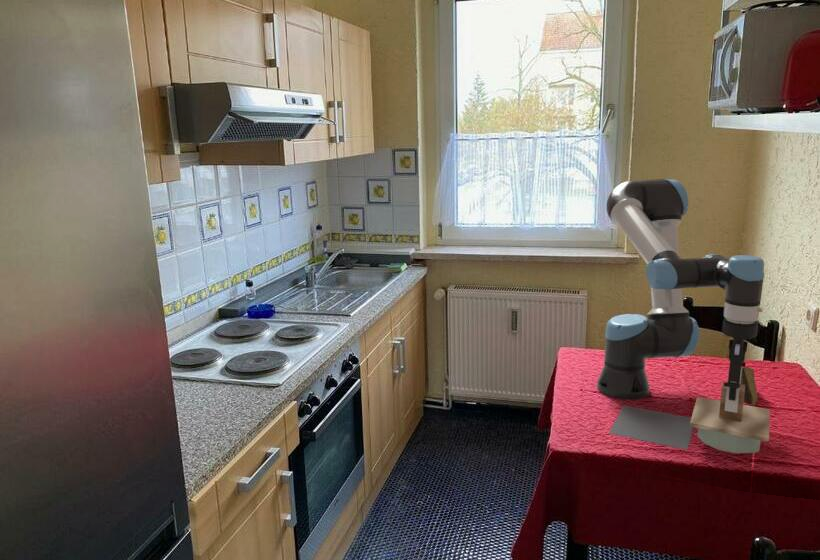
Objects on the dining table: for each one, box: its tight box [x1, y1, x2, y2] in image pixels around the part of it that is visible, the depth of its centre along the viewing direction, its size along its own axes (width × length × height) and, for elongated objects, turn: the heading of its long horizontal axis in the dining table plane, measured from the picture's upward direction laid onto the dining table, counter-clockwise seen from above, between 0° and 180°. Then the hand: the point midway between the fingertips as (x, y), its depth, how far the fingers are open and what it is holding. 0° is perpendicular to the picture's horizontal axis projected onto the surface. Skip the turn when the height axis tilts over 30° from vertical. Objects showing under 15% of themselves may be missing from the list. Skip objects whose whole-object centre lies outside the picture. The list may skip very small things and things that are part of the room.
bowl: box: [697, 428, 762, 455], centre depth 156 cm, size 14×14×6 cm
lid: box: [690, 380, 771, 443], centre depth 154 cm, size 17×17×9 cm
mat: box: [608, 405, 694, 451], centre depth 165 cm, size 19×19×1 cm
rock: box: [741, 366, 759, 406], centre depth 181 cm, size 11×9×10 cm
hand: (732, 400), depth 154 cm, fingers open, 13 cm apart
